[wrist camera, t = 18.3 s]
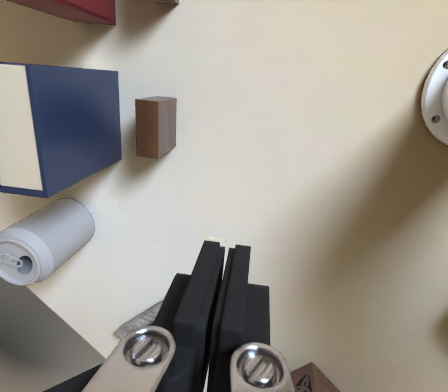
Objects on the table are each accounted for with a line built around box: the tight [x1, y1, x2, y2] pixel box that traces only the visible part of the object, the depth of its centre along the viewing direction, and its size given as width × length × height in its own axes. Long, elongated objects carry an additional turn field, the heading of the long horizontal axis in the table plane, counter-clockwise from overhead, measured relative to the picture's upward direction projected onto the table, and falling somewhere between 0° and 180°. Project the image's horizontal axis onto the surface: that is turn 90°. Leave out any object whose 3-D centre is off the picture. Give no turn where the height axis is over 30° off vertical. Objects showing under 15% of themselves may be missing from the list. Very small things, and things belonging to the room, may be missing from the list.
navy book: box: [0, 62, 122, 198], centre depth 32 cm, size 15×11×5 cm
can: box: [0, 198, 95, 286], centre depth 40 cm, size 8×8×12 cm
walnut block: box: [135, 96, 177, 158], centre depth 35 cm, size 2×6×7 cm, turn 175°
